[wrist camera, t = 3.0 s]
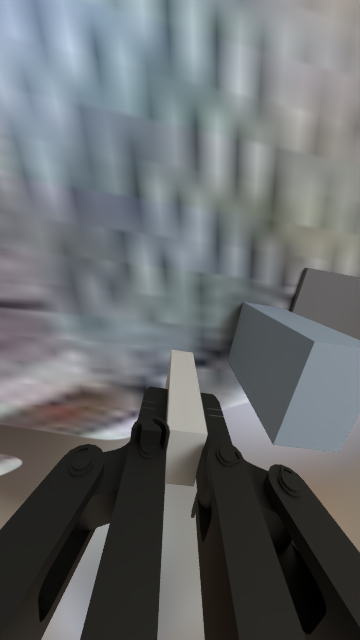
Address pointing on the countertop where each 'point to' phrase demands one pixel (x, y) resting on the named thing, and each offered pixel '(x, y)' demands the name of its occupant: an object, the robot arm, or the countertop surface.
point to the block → (297, 377)
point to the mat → (329, 300)
